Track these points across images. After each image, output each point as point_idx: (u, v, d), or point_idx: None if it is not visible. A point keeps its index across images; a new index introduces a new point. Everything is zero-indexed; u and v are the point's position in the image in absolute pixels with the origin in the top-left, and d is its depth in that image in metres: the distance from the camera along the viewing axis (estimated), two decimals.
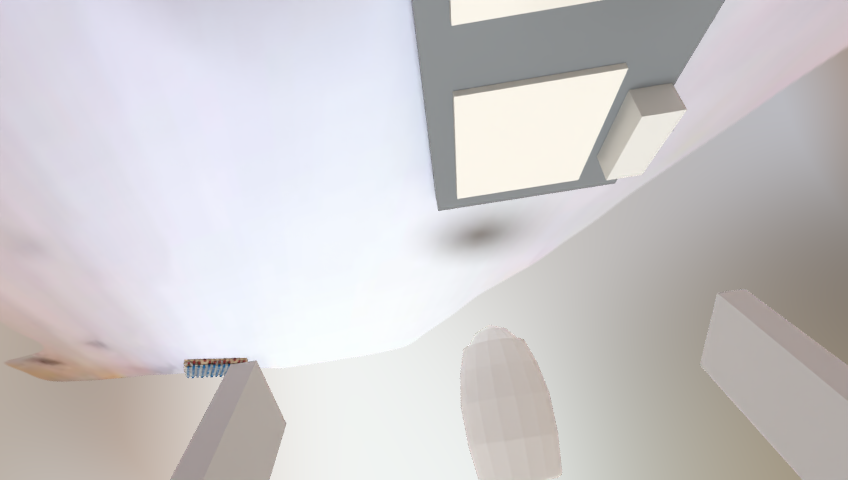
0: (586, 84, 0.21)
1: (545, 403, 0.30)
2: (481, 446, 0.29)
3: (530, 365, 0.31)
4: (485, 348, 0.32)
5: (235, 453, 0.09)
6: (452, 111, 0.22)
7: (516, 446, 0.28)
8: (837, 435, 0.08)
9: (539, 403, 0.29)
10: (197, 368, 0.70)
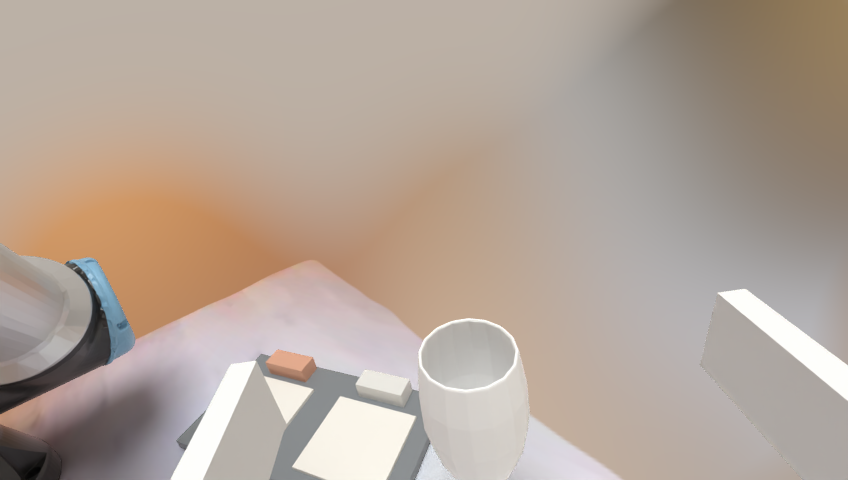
0: (335, 411, 0.45)
1: None
2: (423, 404, 0.24)
3: None
4: None
5: (235, 453, 0.09)
6: (303, 473, 0.40)
7: None
8: (837, 435, 0.08)
9: None
10: None
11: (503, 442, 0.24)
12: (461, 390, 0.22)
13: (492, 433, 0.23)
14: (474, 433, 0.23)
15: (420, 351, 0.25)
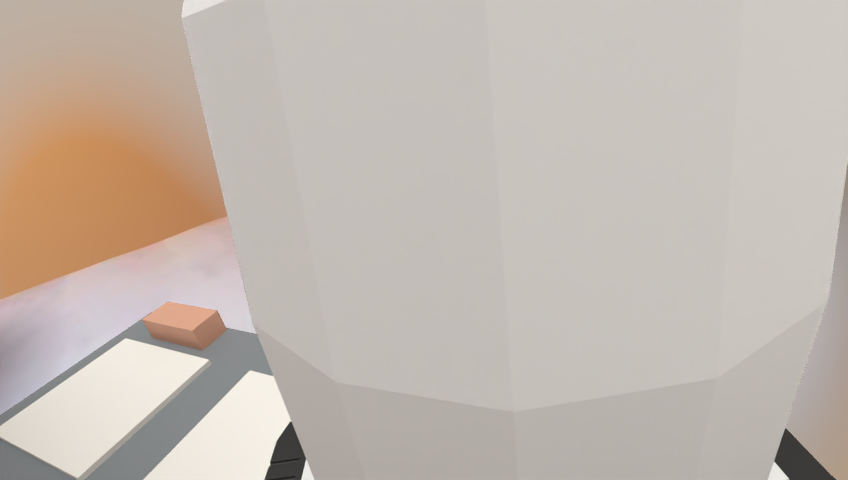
0: (235, 394, 0.25)
1: None
2: None
3: None
4: None
5: None
6: None
7: None
8: None
9: None
10: None
11: None
12: None
13: (687, 429, 0.03)
14: (546, 429, 0.03)
15: None
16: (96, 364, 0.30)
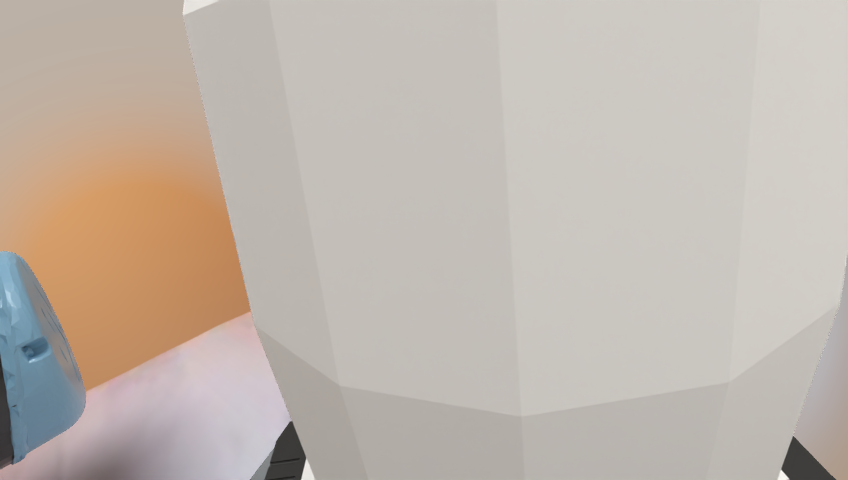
0: None
1: None
2: None
3: None
4: None
5: None
6: None
7: None
8: None
9: None
10: None
11: None
12: None
13: (697, 433, 0.03)
14: (554, 434, 0.03)
15: None
16: None
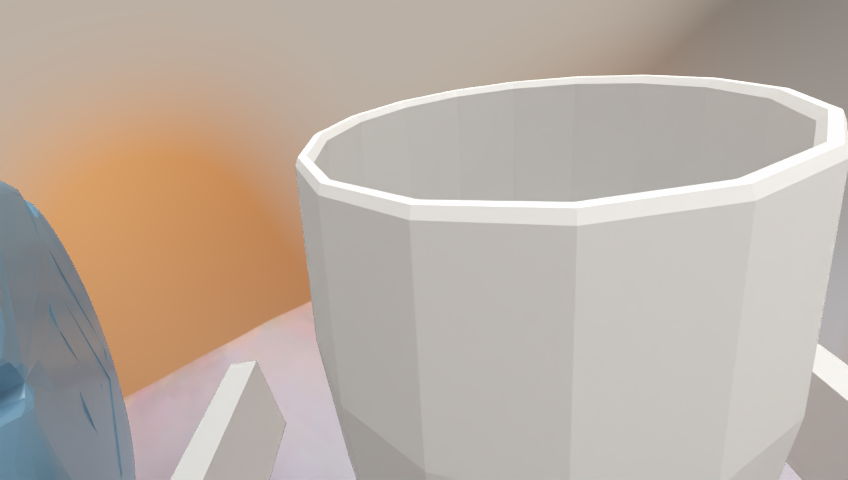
0: None
1: None
2: (325, 356, 0.05)
3: None
4: None
5: (235, 453, 0.09)
6: None
7: None
8: (837, 435, 0.08)
9: None
10: None
11: None
12: (538, 206, 0.03)
13: None
14: None
15: (323, 133, 0.06)
16: None
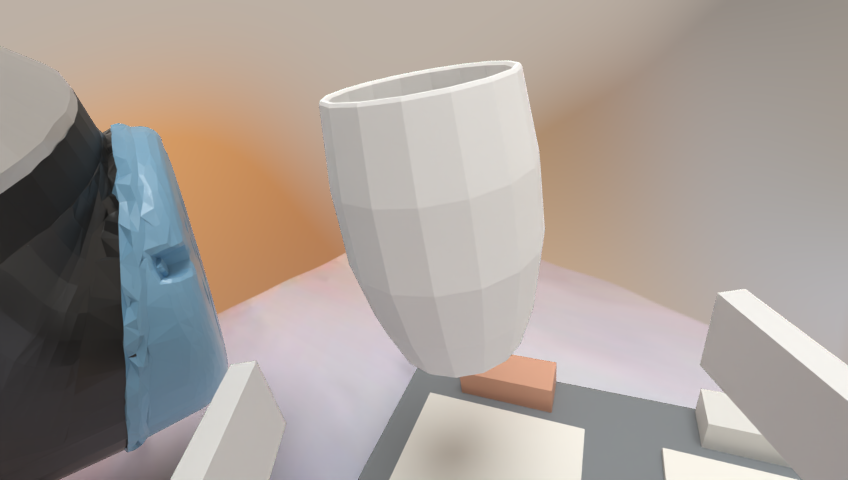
0: None
1: None
2: (334, 190, 0.12)
3: None
4: None
5: (235, 453, 0.09)
6: None
7: None
8: (837, 435, 0.08)
9: None
10: None
11: (492, 248, 0.11)
12: (391, 97, 0.10)
13: (467, 216, 0.11)
14: (428, 215, 0.11)
15: (329, 95, 0.13)
16: (425, 429, 0.25)
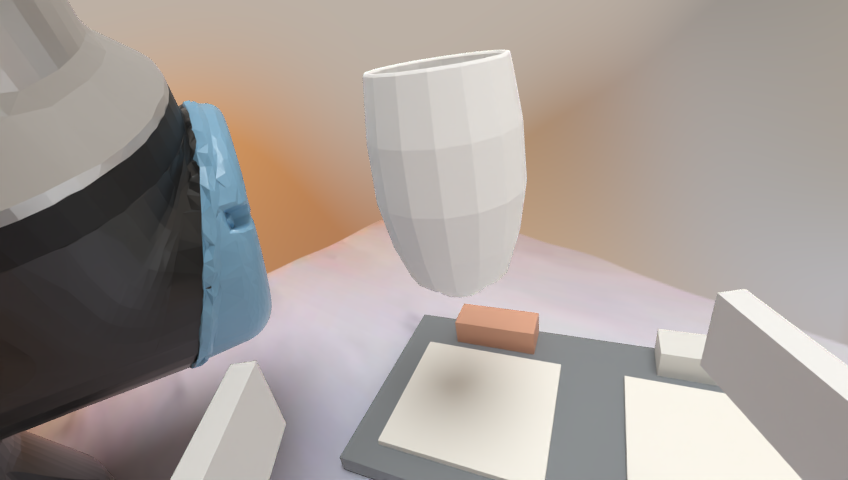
0: (637, 401, 0.24)
1: None
2: (371, 141, 0.17)
3: None
4: None
5: (235, 453, 0.09)
6: None
7: None
8: (837, 435, 0.08)
9: None
10: None
11: (487, 182, 0.16)
12: (419, 69, 0.14)
13: (469, 157, 0.15)
14: (442, 154, 0.15)
15: (368, 71, 0.17)
16: (426, 368, 0.29)
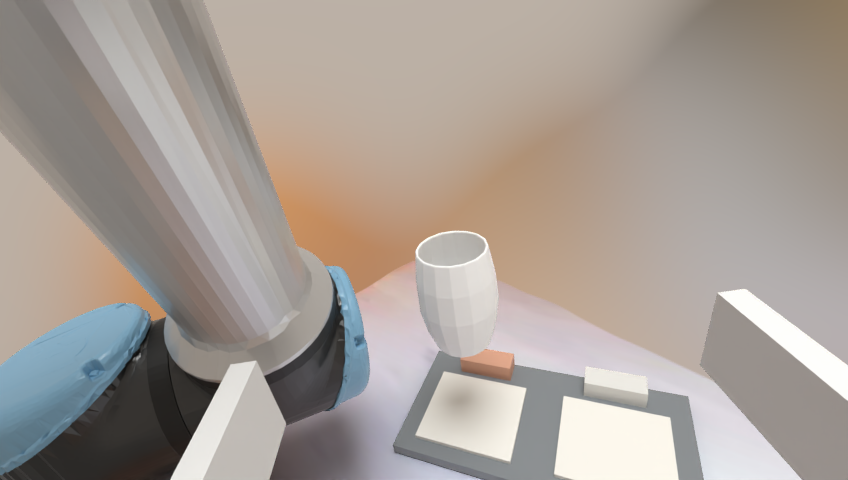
0: (568, 412, 0.41)
1: None
2: (419, 286, 0.34)
3: None
4: None
5: (235, 453, 0.09)
6: None
7: None
8: (837, 435, 0.08)
9: None
10: None
11: (477, 310, 0.33)
12: (445, 266, 0.31)
13: (468, 301, 0.32)
14: (455, 301, 0.32)
15: (417, 249, 0.34)
16: (442, 390, 0.46)
